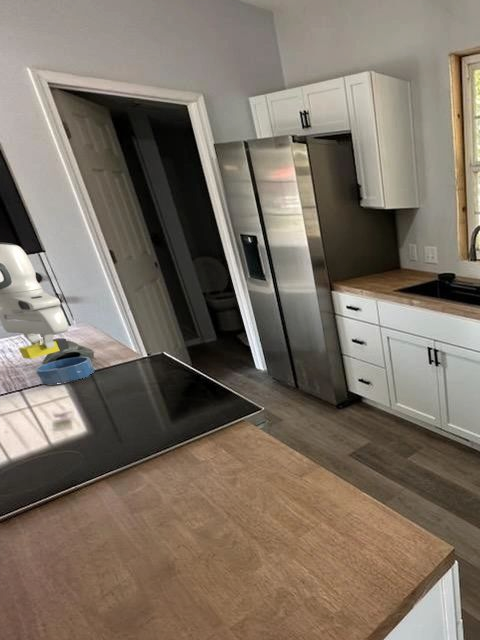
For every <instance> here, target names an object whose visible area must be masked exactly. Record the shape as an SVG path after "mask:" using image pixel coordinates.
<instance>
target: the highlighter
mask: <svg viewBox="0 0 480 640" xmlns="http://www.w3.org/2000/svg"><path fill="white" fill-rule="evenodd" d="M67 341H68V340H67V339H66V338H64V337H63V338H62V337H58V338H53V343H54V345H55V346H54V347H52V348H44V347H43V345H42V343H38V344H34V345H32V344H30V345H27V346H22V347H18V350H19V352H20V354H21V356H22V358H23V359H29V360H30V359H31V360H32V359H34V358H39V357H43V356H47V355H48V354H50V353H54V352H57V351H61V350H65V349H68V348H69V346H68V343H67Z"/></svg>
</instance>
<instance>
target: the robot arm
mask: <svg viewBox="0 0 480 640" xmlns="http://www.w3.org/2000/svg"><path fill="white" fill-rule="evenodd" d="M61 304H62V303H61V301H60V299H59V298H58V297H56V296H54V295H51V294H50V293H47V292H45V291H44V289H43V287H42V286H41V284H40V282H38V280H37V275H36V271H35V268H34V266H33V263H32V262H31V260H30V258H29V256H28V255H27V253H26V252H25V250H24V249H23V248H22V247H21V246H19V245H17V244H14V243H8V242H0V324H1V326H2V328H3V330H4V331H5V332H6V333H9V334H10V333H11V334H23V336H24V337H25V339H26V340H28V342H30V345H34V344H38V343H42V345H43V347H44V348H52V347H54V346H55V345H54V343H53V339H54V336H55V335H60V334H65V333H67V332H68V331H69V324H68V321H67V318H66V315H65V314H64V311H63V309H62V308H61V307H60V306H61ZM38 335H39V336H40V337H39V336H38ZM40 338H42V340H41V339H40Z"/></svg>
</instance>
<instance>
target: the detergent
mask: <svg viewBox="0 0 480 640" xmlns="http://www.w3.org/2000/svg"><path fill="white" fill-rule="evenodd" d="M66 341H67V343H68V346H69V348H68V349H65V350H61V351H57V352H54V353H50V354H46V355H45V357H44V358H43V360H42V362H41V365H44V364H47V363H50V362H54V361H58V360H62V359H67V358H74V357H89V358H90V360H91V362H92V361H93V360H94V359H95V358H94V357H95V351H94V350H93V349H91V348H89V347H86V346H84V345H80V344H78V343H77V342H75V341H71V340H66Z"/></svg>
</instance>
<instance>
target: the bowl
mask: <svg viewBox="0 0 480 640" xmlns="http://www.w3.org/2000/svg"><path fill="white" fill-rule="evenodd" d="M95 370H96V369H95V367H94V365H93V363H92V361H91V360H90V358H89V357H74V358H67V359H62V360H58V361H54V362H50V363H47V364H44V365H43V364H41V365H39V366H37V367H36V368H34V371H35V373H36V376H37V377H38V379H39V381H40V383H41V384H42V385H45V384H57V383H64V382H68V381H72V380H77V381H79V380H78V379H81V380H83V379H86V378H89V377H90V376H92V375H93V374H94V373H95V372H96V371H95ZM92 373H93V374H92ZM90 374H92V375H90ZM89 375H90V376H89ZM85 377H86V378H85ZM82 378H83V379H82ZM77 381H76V382H77ZM65 384H67V383H65ZM65 384H64V385H65ZM60 385H61V384H59V385H58V386H60Z"/></svg>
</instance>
